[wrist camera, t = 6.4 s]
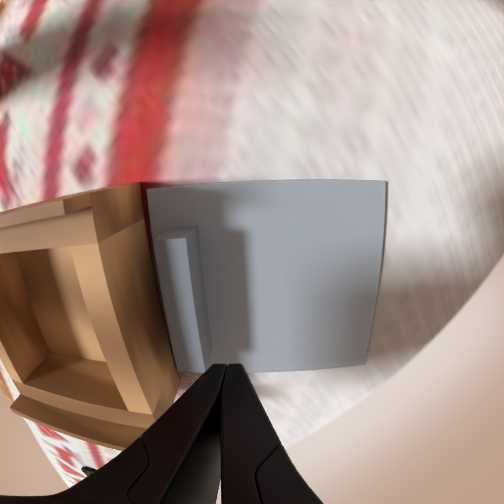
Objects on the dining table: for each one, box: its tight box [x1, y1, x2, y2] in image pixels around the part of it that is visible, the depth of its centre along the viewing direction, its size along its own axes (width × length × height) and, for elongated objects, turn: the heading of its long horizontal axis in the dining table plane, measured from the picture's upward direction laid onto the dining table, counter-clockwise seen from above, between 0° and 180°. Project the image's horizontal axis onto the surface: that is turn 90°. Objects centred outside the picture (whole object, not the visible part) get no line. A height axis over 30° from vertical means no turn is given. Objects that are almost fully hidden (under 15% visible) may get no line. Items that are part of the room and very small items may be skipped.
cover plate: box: [147, 179, 386, 373], centre depth 12 cm, size 9×10×3 cm
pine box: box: [0, 182, 180, 451], centre depth 11 cm, size 11×10×5 cm
